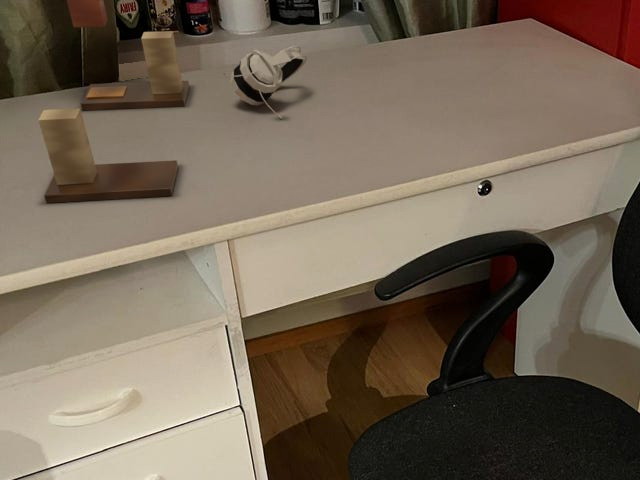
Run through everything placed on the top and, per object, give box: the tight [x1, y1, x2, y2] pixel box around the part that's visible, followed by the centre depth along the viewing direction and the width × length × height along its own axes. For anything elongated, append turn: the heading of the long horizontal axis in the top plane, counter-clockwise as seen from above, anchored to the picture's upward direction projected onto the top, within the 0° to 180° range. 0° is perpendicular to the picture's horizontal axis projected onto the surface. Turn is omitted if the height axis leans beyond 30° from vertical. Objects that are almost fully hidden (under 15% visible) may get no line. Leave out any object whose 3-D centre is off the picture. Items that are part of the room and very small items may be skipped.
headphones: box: [223, 45, 308, 119], centre depth 122 cm, size 8×10×20 cm
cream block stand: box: [37, 108, 179, 204], centre depth 101 cm, size 14×8×9 cm, turn 100°
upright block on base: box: [80, 30, 190, 111], centre depth 124 cm, size 14×8×9 cm, turn 100°
